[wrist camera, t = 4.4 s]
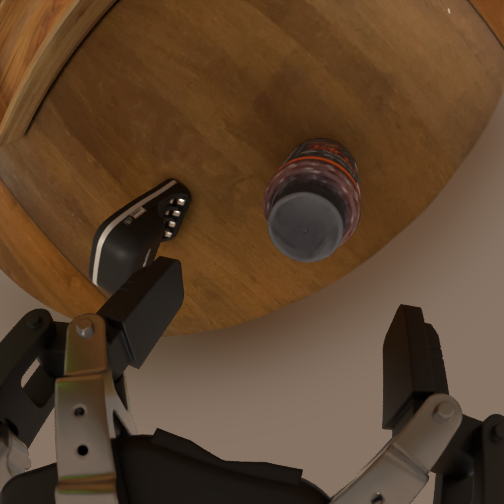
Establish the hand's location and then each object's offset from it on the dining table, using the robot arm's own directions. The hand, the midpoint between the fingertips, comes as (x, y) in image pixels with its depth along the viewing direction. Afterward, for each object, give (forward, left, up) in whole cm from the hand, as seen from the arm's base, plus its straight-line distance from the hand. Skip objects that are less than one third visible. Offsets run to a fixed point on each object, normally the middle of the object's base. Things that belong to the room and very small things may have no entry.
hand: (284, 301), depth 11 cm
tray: (+31, -18, -17) cm, 40 cm away
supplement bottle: (0, 0, -17) cm, 17 cm away
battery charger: (+14, +6, -17) cm, 23 cm away
